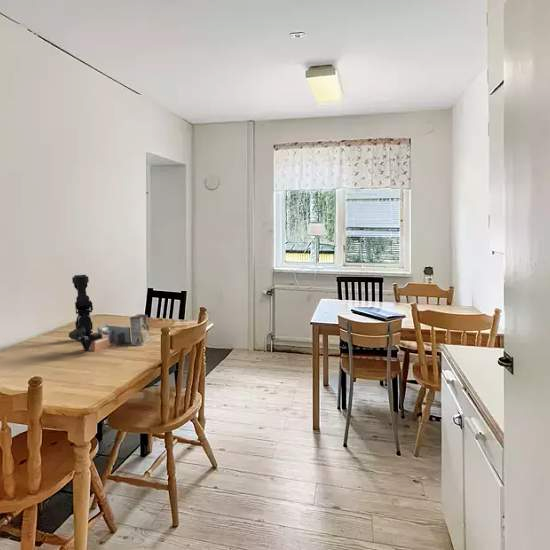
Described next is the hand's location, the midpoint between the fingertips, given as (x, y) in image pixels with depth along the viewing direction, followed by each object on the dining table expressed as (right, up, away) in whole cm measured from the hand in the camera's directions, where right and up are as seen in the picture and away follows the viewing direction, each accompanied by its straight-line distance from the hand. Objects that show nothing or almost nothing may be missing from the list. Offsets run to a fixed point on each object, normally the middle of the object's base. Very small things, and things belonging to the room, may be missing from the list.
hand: (86, 350), depth 221 cm
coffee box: (+24, +1, +17) cm, 29 cm away
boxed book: (+4, 0, +8) cm, 9 cm away
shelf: (+8, +1, +19) cm, 20 cm away
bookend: (+14, +1, +16) cm, 21 cm away
